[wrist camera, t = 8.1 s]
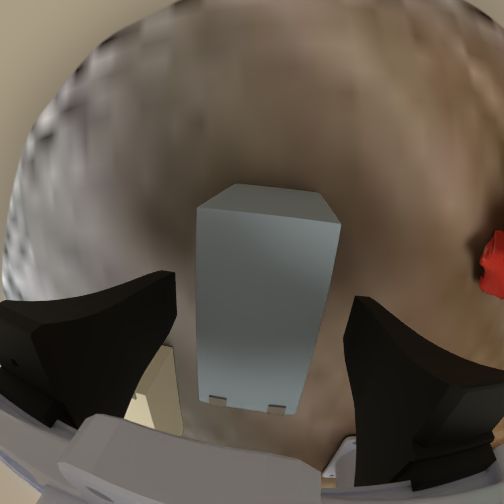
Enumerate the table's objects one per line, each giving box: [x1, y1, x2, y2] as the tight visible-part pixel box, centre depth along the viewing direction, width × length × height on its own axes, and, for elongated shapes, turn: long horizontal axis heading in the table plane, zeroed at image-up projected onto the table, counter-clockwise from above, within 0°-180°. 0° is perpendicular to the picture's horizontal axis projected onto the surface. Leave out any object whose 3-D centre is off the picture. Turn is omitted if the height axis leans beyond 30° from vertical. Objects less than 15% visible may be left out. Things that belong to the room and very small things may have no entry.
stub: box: [196, 183, 341, 415], centre depth 12 cm, size 4×8×6 cm, turn 176°
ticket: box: [124, 345, 184, 436], centre depth 17 cm, size 5×10×5 cm, turn 176°
